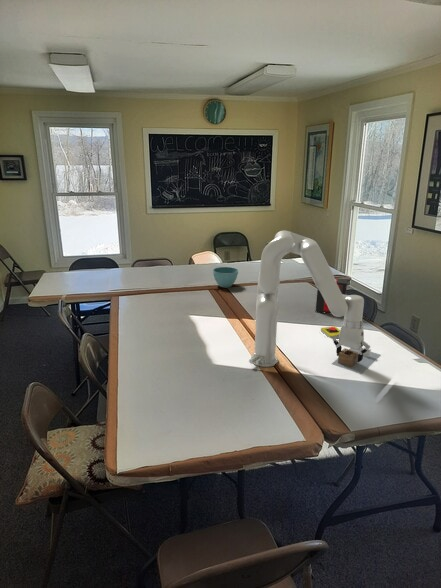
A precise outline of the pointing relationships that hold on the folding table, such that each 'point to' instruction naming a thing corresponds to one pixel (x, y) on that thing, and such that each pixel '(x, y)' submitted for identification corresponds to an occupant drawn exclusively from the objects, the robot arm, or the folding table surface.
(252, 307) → the folding table surface
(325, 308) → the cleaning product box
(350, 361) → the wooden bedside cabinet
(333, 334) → the emergency button
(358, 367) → the shaft plate
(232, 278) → the teal rounded bowl
